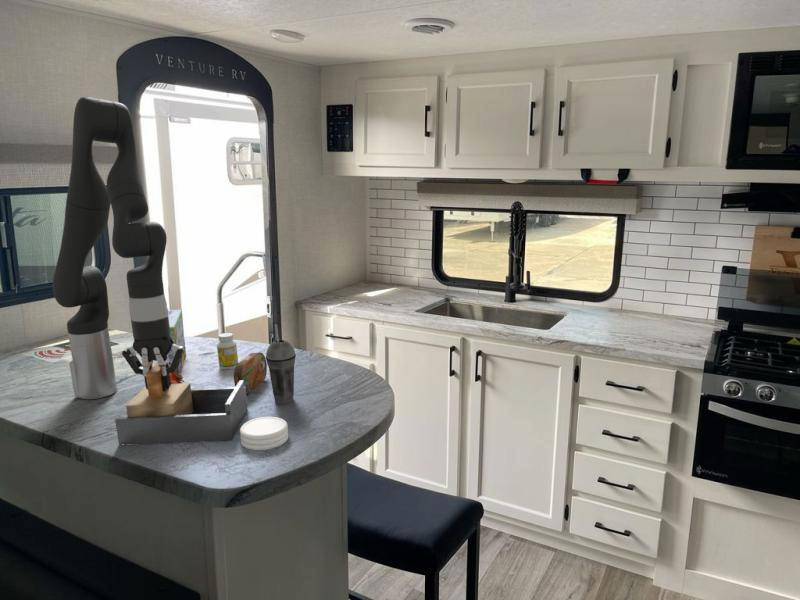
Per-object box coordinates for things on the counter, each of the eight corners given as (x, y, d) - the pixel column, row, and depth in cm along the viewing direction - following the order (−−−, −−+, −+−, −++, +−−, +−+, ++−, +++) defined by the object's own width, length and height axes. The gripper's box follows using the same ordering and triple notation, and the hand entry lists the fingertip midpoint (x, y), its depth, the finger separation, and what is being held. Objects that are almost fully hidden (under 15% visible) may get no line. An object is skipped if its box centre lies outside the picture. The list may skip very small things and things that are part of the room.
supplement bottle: (239, 367, 177) (236, 335, 175) (220, 371, 175) (217, 338, 172) (236, 362, 182) (233, 331, 179) (218, 365, 180) (214, 333, 177)
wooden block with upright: (130, 435, 133) (122, 379, 130) (150, 412, 145) (143, 360, 142) (177, 433, 133) (170, 377, 130) (193, 410, 145) (187, 358, 142)
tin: (244, 398, 154) (241, 367, 152) (233, 398, 155) (230, 366, 153) (268, 377, 169) (266, 348, 167) (258, 377, 169) (255, 347, 167)
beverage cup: (304, 396, 155) (298, 319, 150) (290, 408, 148) (284, 328, 143) (278, 393, 157) (272, 318, 152) (263, 404, 150) (256, 326, 146)
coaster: (236, 452, 127) (235, 437, 126) (245, 431, 137) (244, 416, 136) (285, 450, 127) (284, 434, 127) (291, 429, 137) (290, 414, 136)
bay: (118, 445, 131) (113, 410, 129) (146, 414, 147) (142, 382, 145) (232, 440, 132) (228, 406, 130) (247, 410, 147) (244, 378, 145)
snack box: (180, 379, 169) (174, 326, 166) (159, 381, 168) (152, 328, 165) (187, 355, 189) (182, 308, 186) (168, 357, 188) (162, 309, 185)
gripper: (109, 321, 129) (120, 398, 133) (176, 318, 129) (185, 395, 134) (123, 312, 136) (134, 385, 141) (187, 309, 137) (195, 383, 141)
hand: (159, 390), depth 137 cm, fingers closed on wooden block with upright, 2 cm apart
